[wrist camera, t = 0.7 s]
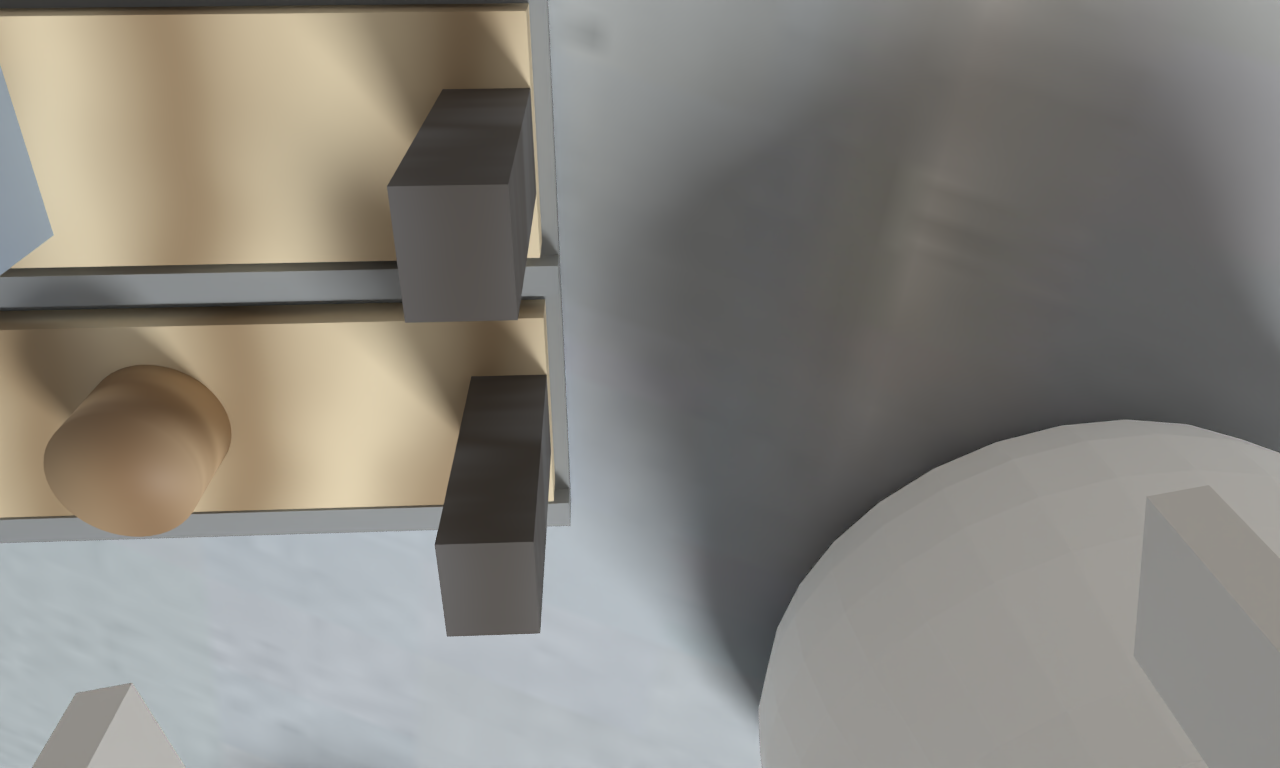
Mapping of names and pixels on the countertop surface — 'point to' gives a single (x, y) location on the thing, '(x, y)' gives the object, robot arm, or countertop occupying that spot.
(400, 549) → the countertop surface
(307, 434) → the strip
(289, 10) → the strip
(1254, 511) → the pot
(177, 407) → the brown rounded piece
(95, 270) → the lane board
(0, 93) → the blue block
